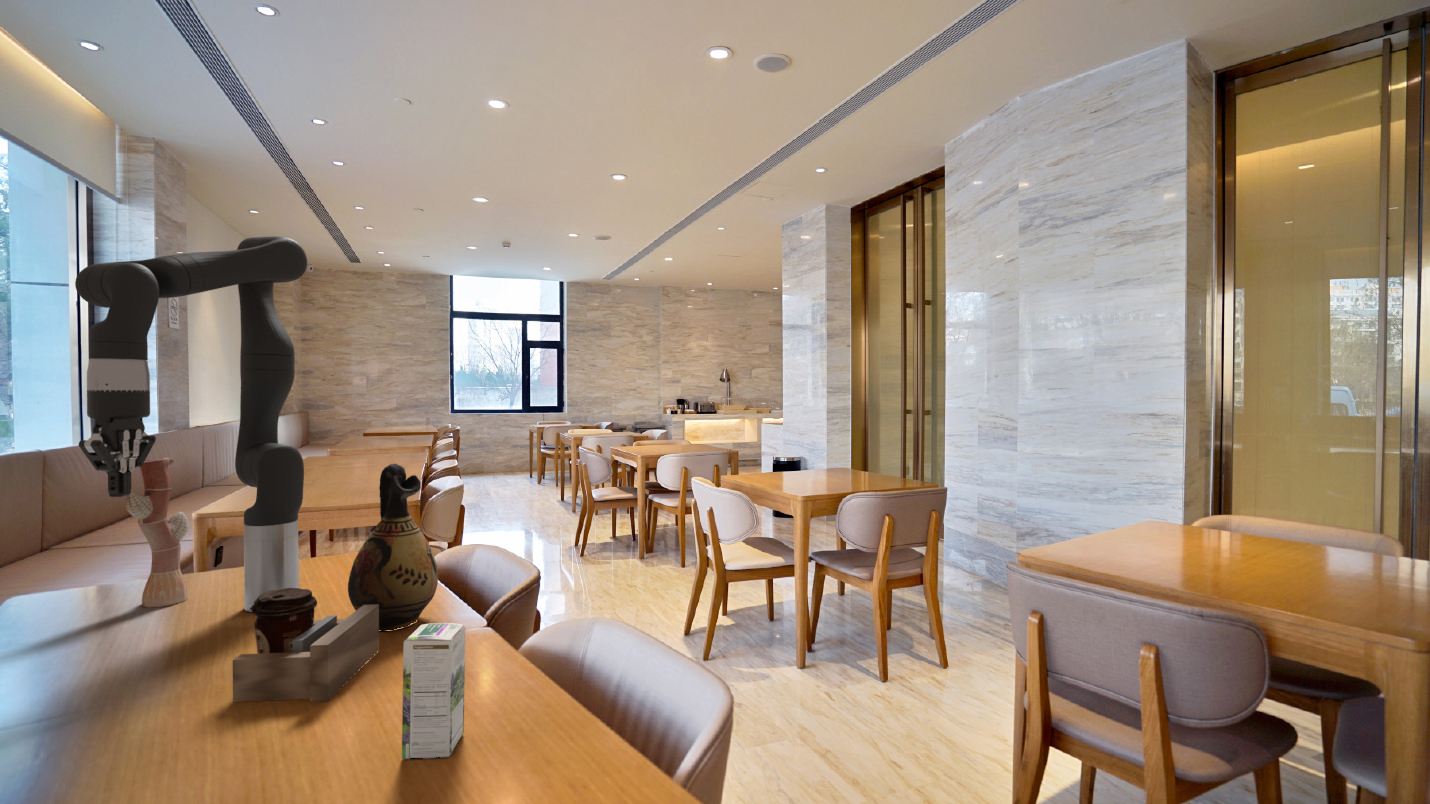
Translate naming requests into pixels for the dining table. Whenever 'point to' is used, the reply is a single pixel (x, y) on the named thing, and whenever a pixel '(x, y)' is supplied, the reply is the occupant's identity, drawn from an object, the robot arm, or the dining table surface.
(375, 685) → the dining table surface
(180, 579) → the vase
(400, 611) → the ceramic jug
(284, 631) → the coffee cup
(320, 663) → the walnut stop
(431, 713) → the syrup box
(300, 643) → the pad
